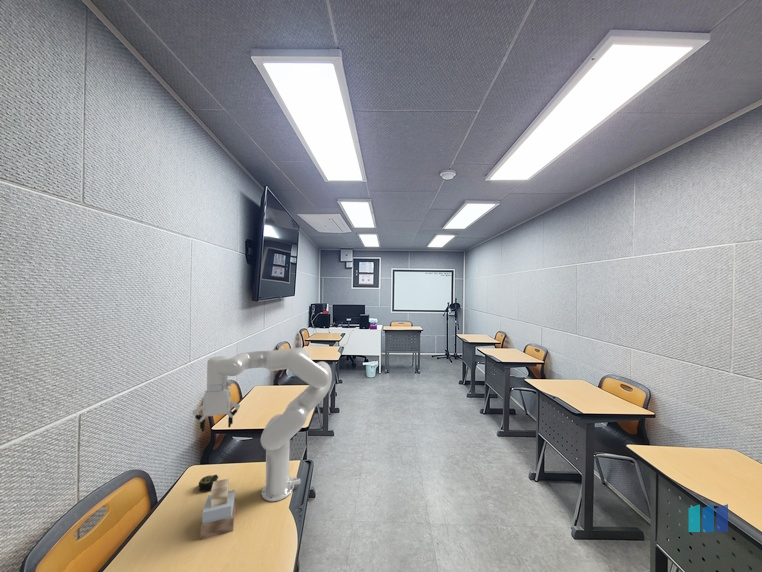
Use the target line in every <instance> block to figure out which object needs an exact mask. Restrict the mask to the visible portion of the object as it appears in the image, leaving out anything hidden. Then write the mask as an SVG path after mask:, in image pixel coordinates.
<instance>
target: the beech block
mask: <svg viewBox="0 0 762 572" xmlns="http://www.w3.org/2000/svg"><path fill="white" fill-rule="evenodd" d="M229 484H230V482H229V478H225V479H219V480H217V481H214V482H213V486H212V489H211V490H210V495H211V507H214V506H218V505H222V504H226V503H227V500H228V494H229V491H230V490H229V489H230V487H229Z"/></svg>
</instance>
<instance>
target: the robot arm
mask: <svg viewBox="0 0 762 572" xmlns="http://www.w3.org/2000/svg"><path fill="white" fill-rule="evenodd" d="M206 365H207V366H206V370H207V371H206V390H205V391H204V396H203V400H202V401H203V402H202V405H201V406H199V407H197V408H196V409H194V410H193V411H192V414H193V416H194V417H195V419H196V420H198V422H199V427H200V428H199V429H200V430H201V432H204V431H205V430H206V418H207V417H215V416H221V415H222V416H223V415H227V416H228V418H227V420H228V421H227V422H228V426H227V427H228V428H231V425H233V422H234V420H233V418H234V416H235V415H236V414H237V413H238V411H239V409H240V406H241V405H240V404H239V403H238V402H234V401H232V397H231V396H232V395H231V388H230V387H231V386H232V382H229V381H228V377H237V376H239V375H240V374H242V373H243V372H244V371H246V370H251V369H259V368H263V369H267V370H268V371H271V372H274V371H281V370H288V371H290V372H291V373H292V374H294V375H295V376H296V377H297V378H299V379H300V380H302V382H303V381H304V382H305V384H307V385H308V386H307V387H306V388H305V389H303V391H302V392H301V393H299V394H298V395H297V396H296V397H295V398H294V399H293V400H292V401H290V402H289V403H288V404H287V406H286V408H285V410H284V412H283V413H281V414H276V415H274V416H272V417H271V418H270V419H269V420H268V422H267V423H266V425H265V427H264V429H263V431H262V433H261V436H260V444H261V447H262V448H263V449H264V450H265V485H264V486H263V488H262V490H261V496H262V499H264V500H265V501H267V502H277V501H281V500H283V499H285V498H287V497H289V496H290V495H291V494H292V492H293V490H294V486H296V485H301V478H298V476H294V477H291V474H290V451H291V450H290V447H291V446H290V445H291V444H290V443H291V442H290V441H291V439H292V438H293V437H294V436H295V435H296V434H298V432H299V431H301V429H302V428H303V427H304V425H305V424H306V421H307V419H308V418H307V417H308V416H309V414H310V413H311V412H312V411H313V410H314V409H315V408H316V407H317V405H319V404H320V403H321V402H322V401H323V399H324V398H325V397H326V396H327V394H328V392H329V391H330V388H331V386H332V380H333V373H332V368H331V366H330V364H328V362H326V361H318V362H314V361H313V360H312V359H310V355H309V351H308V350H307V349H306V348H304V347H292V348H285V349H284V348H283V349H275V350H258V351H257V350H256V351H248V352H242V353H237V354H236V355H234V356H232V357H230V358H227V357H226V356H223V355H221V356H219V355H218V356H213V357H210V358H208V359H207V363H206ZM232 407H233V408H234V409H233V411H232V409H231V408H232ZM201 411H202V414H199V412H201Z"/></svg>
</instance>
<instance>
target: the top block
mask: <svg viewBox="0 0 762 572" xmlns="http://www.w3.org/2000/svg"><path fill="white" fill-rule="evenodd" d="M235 495H236V491H235V489H232V490H229V494H228V500H227V503H226V504H222V505H218V506H214V507H211V494H210V495H207V498H206V501H205V503H204V507H203V510H202V519H201V523H202V524H206V523H210V522H214V521H218V520H222V519H226V518H230V517H232V511H233V506H234V501H235V498H236V497H235Z"/></svg>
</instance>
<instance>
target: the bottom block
mask: <svg viewBox="0 0 762 572" xmlns="http://www.w3.org/2000/svg"><path fill="white" fill-rule="evenodd" d="M236 513H237V499H235V501H234V506H233V511H232V517H230V518H226V519H222V520H218V521H214V522H210V523H206V524H202V522H201V524H200V541H202V540H203V541H204V540H206V539H210V538H215V537H216V536H217V537H218V536H220V535H221V536H222V535H224V534H228V533H231V532H234V528H235V527H234V526H235V520H236Z"/></svg>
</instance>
